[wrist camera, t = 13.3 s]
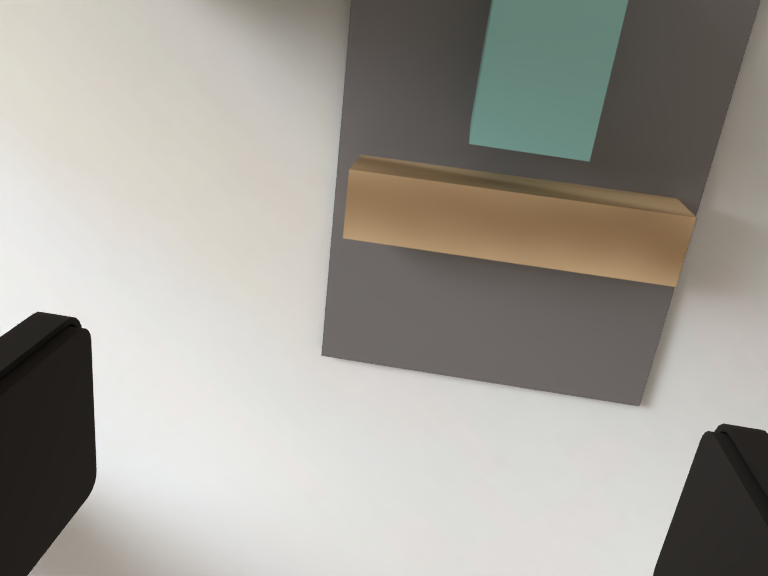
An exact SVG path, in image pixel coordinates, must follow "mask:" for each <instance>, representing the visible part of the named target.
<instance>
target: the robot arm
mask: <svg viewBox="0 0 768 576" xmlns="http://www.w3.org/2000/svg"><path fill="white" fill-rule="evenodd" d="M95 479H96V446H95V421H94V397H93V373H92V348H91V335H90V333H89V331H88V330H87V329H84V328H82V327H81V324H80V322H79V320H78V319H77V318H74V317H68V316H62V315H56V314H50V313H44V312H37V313H34V314H32V315H31V316H30V317H28V318H27V319H25V320H24V321H22V322H21V323H20V324H18V325H17V326H15V327H14V328H13V329H11V330H10V331H8V332H7V333H5V334H4V335H3V336H1V337H0V576H27V575H28V574H29V573H30V571H31V570H32V569H33V567H34V566H35V565H36V564H37V562H38V561H39V560H40V558H41V557H42V556H43V555H44V553H45V552H46V551H47V549H48V548H49V547H50V545H51V544H52V543H53V542H54V540H55V539H56V538H57V536H58V535H59V534H60V533H61V531H62V530H63V529H64V527H65V526H66V525H67V524H68V522H69V521H70V520H71V518H72V517H73V516H74V514H75V513H76V512H77V511H78V509H79V508H80V507H81V505H82V504H83V503H84V502H85V500H86V499H87V498H88V496H89V495H90V493H91V491H92V489H93V486H94V483H95ZM653 576H768V433H767V432H766V431H764V430H759V429H753V428H747V427H741V426H735V425H729V424H721V425H719V426H718V428H717V429H716V430H715V432H711V431H707V432H705V433H704V435H703V436H702V438H701V440H700V443H699V446H698V449H697V451H696V454H695V457H694V460H693V463H692V465H691V468H690V471H689V474H688V477H687V479H686V482H685V485H684V488H683V491H682V493H681V496H680V499H679V502H678V505H677V507H676V510H675V513H674V516H673V519H672V522H671V524H670V527H669V530H668V533H667V536H666V538H665V541H664V544H663V547H662V550H661V552H660V555H659V558H658V561H657V564H656V566H655V570H654V574H653Z"/></svg>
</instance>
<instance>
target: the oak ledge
mask: <svg viewBox="0 0 768 576" xmlns="http://www.w3.org/2000/svg"><path fill="white" fill-rule="evenodd" d="M695 222H696V217H695V216H694V215H693V214H692V213H691V212H690V211H689V210H688V209H687V208H686V207H685V206H684V205H683V204H682V203H681V202H680V201H679V200H678V199H677V198H673V197H665V196H658V195H651V194H644V193H636V192H629V191H622V190H614V189H607V188H600V187H593V186H585V185H578V184H571V183H563V182H556V181H549V180H542V179H534V178H527V177H520V176H512V175H505V174H498V173H491V172H483V171H476V170H469V169H461V168H454V167H447V166H440V165H432V164H425V163H418V162H411V161H403V160H396V159H389V158H381V157H374V156H367V155H360V156H359V157H358V159H357V160H356V161H355V162H354V164H353V165H352V166H351V168H350V169H349V177H348V188H347V199H346V210H345V220H344V231H343V238H345V239H352V240H358V241H365V242H372V243H379V244H386V245H393V246H399V247H406V248H413V249H420V250H427V251H434V252H440V253H447V254H454V255H461V256H468V257H474V258H481V259H488V260H495V261H502V262H509V263H515V264H522V265H529V266H536V267H543V268H550V269H556V270H563V271H570V272H577V273H584V274H590V275H597V276H604V277H611V278H618V279H625V280H631V281H638V282H645V283H652V284H659V285H666V286H672V287H676V285H677V282H678V279H679V275H680V272H681V269H682V265H683V262H684V259H685V255H686V252H687V249H688V245H689V242H690V238H691V235H692V232H693V228H694V225H695Z"/></svg>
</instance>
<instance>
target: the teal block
mask: <svg viewBox="0 0 768 576" xmlns="http://www.w3.org/2000/svg"><path fill="white" fill-rule="evenodd" d="M627 4H628V0H491V5H490V10H489V16H488V22H487V28H486V34H485V40H484V46H483V52H482V58H481V64H480V70H479V76H478V81H477V87H476V93H475V99H474V105H473V111H472V117H471V123H470V135H469V144H473V145H480V146H487V147H493V148H500V149H507V150H514V151H521V152H527V153H534V154H541V155H548V156H555V157H561V158H568V159H575V160H582V161H589V162H590V158H591V153H592V149H593V145H594V141H595V137H596V133H597V129H598V124H599V120H600V116H601V112H602V108H603V104H604V99H605V95H606V91H607V87H608V83H609V79H610V75H611V70H612V66H613V62H614V58H615V54H616V50H617V46H618V41H619V37H620V33H621V29H622V25H623V21H624V16H625V12H626V8H627Z"/></svg>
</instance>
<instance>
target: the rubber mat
mask: <svg viewBox="0 0 768 576" xmlns="http://www.w3.org/2000/svg"><path fill="white" fill-rule="evenodd" d="M759 3H760V0H628V4H627V8H626V12H625V16H624V21H623V25H622V29H621V33H620V37H619V41H618V46H617V50H616V54H615V58H614V62H613V66H612V70H611V75H610V79H609V83H608V87H607V91H606V95H605V99H604V104H603V108H602V112H601V116H600V120H599V124H598V129H597V133H596V137H595V141H594V145H593V149H592V153H591V158H590V162H589V161H582V160H575V159H568V158H561V157H555V156H548V155H541V154H534V153H527V152H521V151H514V150H507V149H500V148H493V147H487V146H480V145H473V144H469V135H470V123H471V117H472V111H473V105H474V99H475V93H476V87H477V81H478V76H479V70H480V64H481V58H482V52H483V46H484V40H485V34H486V28H487V22H488V16H489V10H490V5H491V0H352V1H351V13H350V25H349V37H348V48H347V60H346V72H345V84H344V96H343V107H342V119H341V131H340V143H339V155H338V167H337V178H336V190H335V202H334V214H333V226H332V237H331V249H330V261H329V273H328V285H327V296H326V308H325V320H324V332H323V344H322V356H327V357H334V358H340V359H346V360H353V361H359V362H365V363H371V364H378V365H384V366H390V367H396V368H403V369H409V370H415V371H422V372H428V373H434V374H440V375H447V376H453V377H459V378H465V379H472V380H478V381H484V382H491V383H497V384H503V385H509V386H516V387H522V388H528V389H534V390H541V391H547V392H553V393H560V394H566V395H572V396H578V397H585V398H591V399H597V400H603V401H610V402H616V403H622V404H629V405H635V406H639V405H640V402H641V399H642V395H643V392H644V389H645V385H646V382H647V378H648V375H649V372H650V368H651V365H652V362H653V358H654V355H655V352H656V348H657V345H658V342H659V338H660V335H661V332H662V328H663V325H664V321H665V318H666V315H667V311H668V308H669V305H670V301H671V298H672V295H673V291H674V288H675V287H672V286H666V285H659V284H652V283H645V282H638V281H631V280H625V279H618V278H611V277H604V276H597V275H590V274H584V273H577V272H570V271H563V270H556V269H550V268H543V267H536V266H529V265H522V264H515V263H509V262H502V261H495V260H488V259H481V258H474V257H468V256H461V255H454V254H447V253H440V252H434V251H427V250H420V249H413V248H406V247H399V246H393V245H386V244H379V243H372V242H365V241H358V240H352V239H345V238H343V231H344V220H345V210H346V199H347V188H348V177H349V169H350V168H351V166H352V165H353V164H354V162H355V161H356V160H357V159H358V157H359V156H360V155H367V156H374V157H381V158H389V159H396V160H403V161H411V162H418V163H425V164H432V165H440V166H447V167H454V168H461V169H469V170H476V171H483V172H491V173H498V174H505V175H512V176H520V177H527V178H534V179H542V180H549V181H556V182H563V183H571V184H578V185H585V186H593V187H600V188H607V189H614V190H622V191H629V192H636V193H644V194H651V195H658V196H665V197H673V198H677V199H678V200H679V201H680V202H681V203H682V204H683V205H684V206H685V207H686V208H687V209H688V210H689V211H690V212H691V213H692V214H693V215H694V216H695V217H696V214H697V211H698V207H699V204H700V201H701V197H702V194H703V191H704V187H705V184H706V181H707V177H708V174H709V170H710V167H711V164H712V160H713V157H714V154H715V150H716V147H717V144H718V140H719V137H720V134H721V130H722V127H723V124H724V120H725V117H726V113H727V110H728V107H729V103H730V100H731V97H732V93H733V90H734V87H735V83H736V80H737V77H738V73H739V70H740V66H741V63H742V60H743V56H744V53H745V50H746V46H747V43H748V40H749V36H750V33H751V30H752V26H753V23H754V20H755V16H756V13H757V9H758V6H759Z"/></svg>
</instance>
